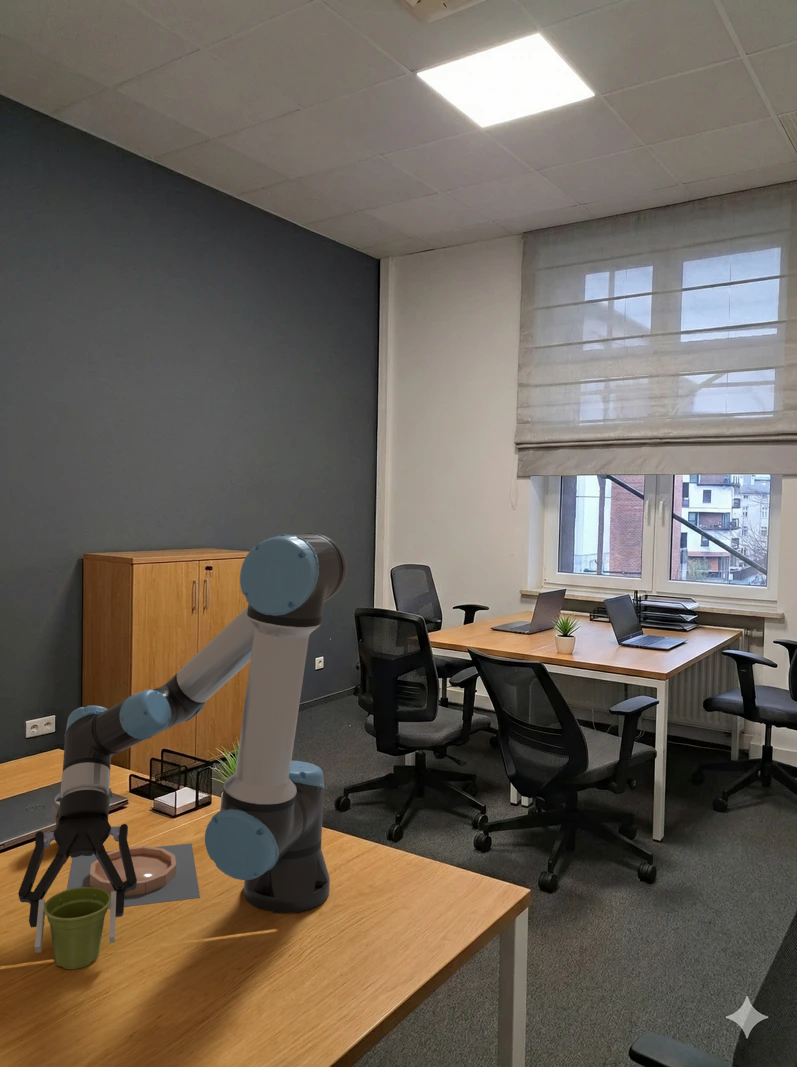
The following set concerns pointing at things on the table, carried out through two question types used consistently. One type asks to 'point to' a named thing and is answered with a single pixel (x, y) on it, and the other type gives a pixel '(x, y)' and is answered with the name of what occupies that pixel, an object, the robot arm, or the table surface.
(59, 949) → the plant pot
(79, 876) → the desk mat
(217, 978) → the table surface
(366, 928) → the table surface
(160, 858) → the saucer
